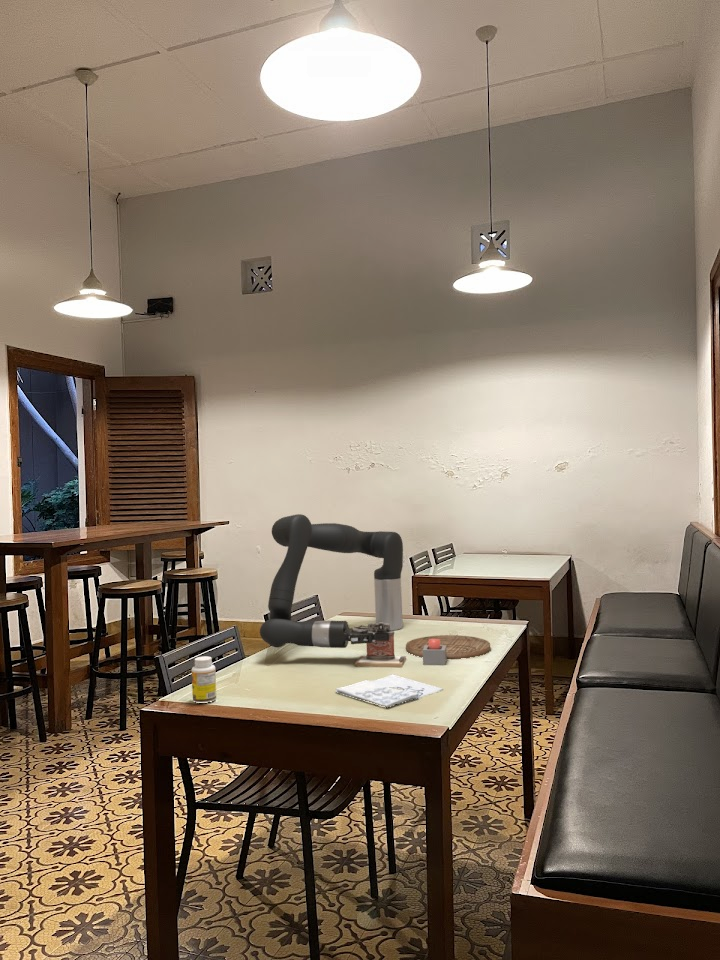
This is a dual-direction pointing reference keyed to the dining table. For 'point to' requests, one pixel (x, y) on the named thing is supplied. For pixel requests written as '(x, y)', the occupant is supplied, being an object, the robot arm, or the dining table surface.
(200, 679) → the supplement bottle
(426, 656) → the button box
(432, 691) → the folded patterned cloth
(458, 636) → the trivet
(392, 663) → the clipboard
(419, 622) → the dining table surface
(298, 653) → the dining table surface
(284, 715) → the dining table surface
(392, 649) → the lighter
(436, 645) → the button
